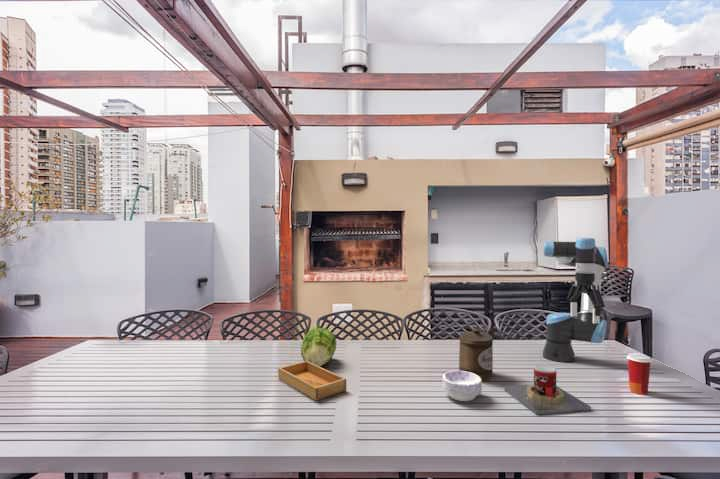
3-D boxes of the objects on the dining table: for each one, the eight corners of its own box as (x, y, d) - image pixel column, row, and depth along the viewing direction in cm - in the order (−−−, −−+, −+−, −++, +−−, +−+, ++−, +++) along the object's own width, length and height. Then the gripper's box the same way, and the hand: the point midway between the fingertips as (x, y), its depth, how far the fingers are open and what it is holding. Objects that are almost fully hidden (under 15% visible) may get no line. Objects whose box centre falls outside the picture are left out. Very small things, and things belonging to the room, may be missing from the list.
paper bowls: (460, 408, 143) (460, 387, 143) (434, 393, 156) (434, 373, 156) (490, 400, 150) (490, 380, 150) (463, 386, 164) (463, 367, 163)
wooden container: (488, 383, 166) (488, 333, 166) (454, 376, 174) (455, 328, 174) (495, 373, 179) (496, 326, 178) (464, 367, 187) (464, 322, 186)
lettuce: (291, 356, 178) (324, 334, 177) (294, 334, 200) (323, 314, 200) (313, 384, 182) (346, 362, 181) (314, 359, 204) (342, 340, 204)
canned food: (529, 392, 154) (530, 365, 153) (548, 391, 154) (549, 364, 154) (540, 400, 146) (541, 372, 146) (560, 399, 147) (560, 371, 147)
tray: (278, 379, 172) (278, 367, 172) (307, 371, 182) (306, 359, 182) (315, 402, 149) (315, 388, 148) (346, 392, 158) (346, 378, 158)
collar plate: (504, 390, 159) (504, 381, 159) (552, 386, 163) (552, 378, 163) (536, 415, 138) (536, 405, 137) (590, 410, 141) (591, 401, 141)
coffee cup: (646, 389, 160) (647, 353, 160) (654, 397, 152) (654, 359, 152) (623, 386, 163) (623, 351, 163) (629, 394, 155) (630, 357, 155)
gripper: (558, 269, 182) (558, 313, 183) (599, 275, 158) (598, 326, 158) (572, 269, 184) (572, 313, 184) (615, 275, 159) (614, 325, 159)
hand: (584, 319), depth 171 cm, fingers open, 13 cm apart
